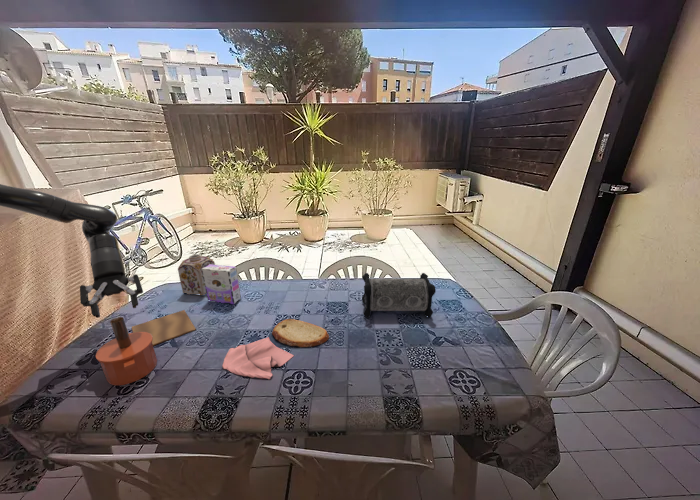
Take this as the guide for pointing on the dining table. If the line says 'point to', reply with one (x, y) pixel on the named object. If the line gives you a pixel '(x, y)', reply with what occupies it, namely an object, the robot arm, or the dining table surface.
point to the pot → (130, 367)
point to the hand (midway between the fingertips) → (116, 312)
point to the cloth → (255, 359)
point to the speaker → (398, 295)
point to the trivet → (166, 327)
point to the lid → (123, 343)
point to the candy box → (221, 283)
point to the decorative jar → (193, 274)
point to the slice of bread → (299, 333)
